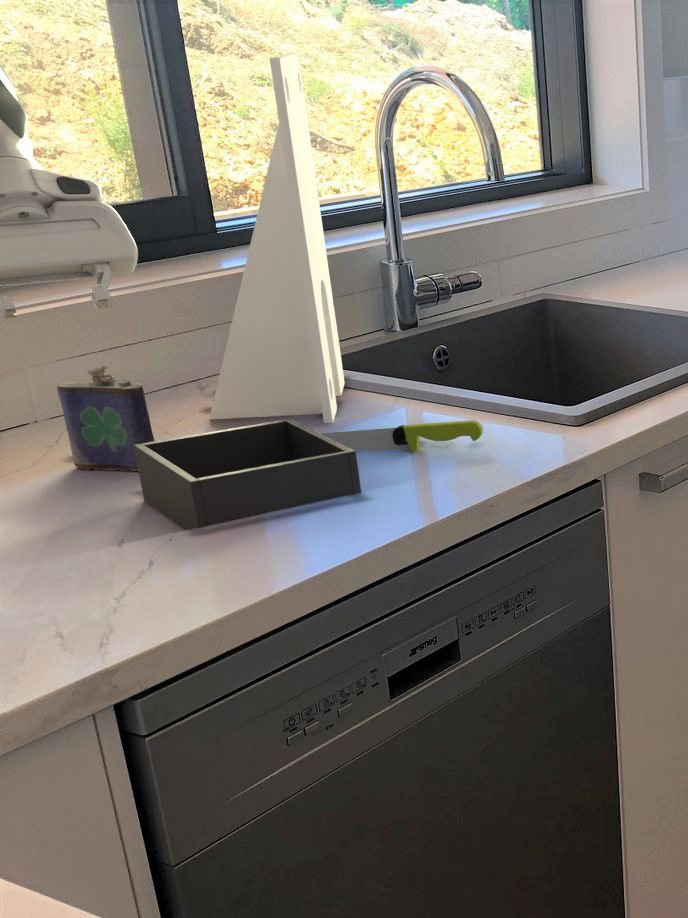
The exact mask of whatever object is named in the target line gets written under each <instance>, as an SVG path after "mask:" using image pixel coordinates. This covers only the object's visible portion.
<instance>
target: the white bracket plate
mask: <svg viewBox="0 0 688 918" xmlns="http://www.w3.org/2000/svg"><path fill="white" fill-rule="evenodd" d="M269 63H270V70H271V76H272V84H273V90H274V97H275V98H274V99H275V103H276V104H275V105H276V111H277V117H278V124H277V129H276V133H275V139H274V142H273V146H272V150H271V154H270V159H269V163H268V168H267V171H266V176H265V180H264V184H263V185H264V186H263V189H262V193H261V197H260V202H259V205H258V206H259V207H258V210H257V214H256V218H255V222H254V226H253V230H252V231H253V232H252V235H251V239H250V244H249V248H248V253H247V256H246V261H245V266H244V269H243V274H242V278H241V283H240V287H239V291H238V295H237V299H236V304H235V308H234V313H233V317H232V321H231V324H230V328H229V333H228V338H227V342H226V346H225V351H224V354H223V359H222V364H221V367H220V372H219V375H218V381H217V384H216V389H215V393H214V398H213V402H212V405H211V410H210V415H209V421H210V420H211V421H212V420H225V419H226V420H227V419H244V418H245V419H246V418H249V419H250V418H265V417H266V418H267V417H283V416H284V417H285V416H286V417H287V416H300V415H301V416H302V415H303V416H304V415H305V416H306V415H320V414H322V419H323V424H333V423H334V421H335V418H336V414H337V410H338V405H337V399H336V398H337V397H340V396H342V394H343V391H344V388H345V384H346V383H345V376H344V375H345V374H344V369H343V362H342V361H343V360H342V353H341V348H340V339H339V333H338V332H339V331H338V327H337V325H338V324H337V319H336V313H335V306H334V297H333V291H332V283H331V276H330V270H329V262H328V255H327V254H328V253H327V247H326V241H325V233H324V227H323V219H322V212H321V206H320V198H319V193H318V192H319V191H318V184H317V179H316V178H317V177H316V170H315V163H314V157H313V156H314V155H313V147H312V141H311V135H310V128H309V127H310V126H309V121H308V113H307V106H306V100H305V91H304V85H303V77H302V71H301V65H300V64H301V63H300V58H299V53H297V52H296V53H295V52H294V53H293V52H292V53H291V52H290V53H284V54H280V55H275V56H272V57H271V56H270V57H269Z"/></svg>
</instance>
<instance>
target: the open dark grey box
mask: <svg viewBox="0 0 688 918" xmlns="http://www.w3.org/2000/svg"><path fill="white" fill-rule="evenodd" d="M320 433H321V432H318V431H316V430H315V429H312V428H310V427H308V426H306V425H304V424H302V423H301V422H298V421H296V420H294V419H292V418H286V419H279V420H275V421H274V420H273V421H268V422H261V423H256V424H250V425H249V424H248V425H244V426H238V427H232V428H225V429H220V430H213V431H209V432H201V433H196V434H190V435H184V436H178V437H177V436H176V437H172V438H167V439H160V440H155V441H153V442H147V443H142V444H136V445H133V447H134V452H135V457H136V462H137V467H138V471H137V472H138V478H139V482H140V486H141V492H142V497H143V501H144V502H145V503H146V504H147V505H149V506H150V507H152V508H154V510H155V511H157V512H159V513H160V514H161V515H163V516H164V517H166V518H167V519H168V520H170V521H171V522H172V523H173V524H174V523H175V525H177V526H178V527H179V528H181V529H182V530H184V531H189V530H193V529H199V528H204V527H210V526H215V525H219V524H224V523H229V522H232V521H236V520H241V519H242V520H243V519H246V518H252V517H255V516H260V515H265V514H269V513H275V512H278V511H282V510H287V509H292V508H296V507H301V506H305V505H311V504H314V503H319V502H324V501H329V500H334V499H337V498H343V497H347V496H351V495H356V494H360V493H362V488H361V479H360V471H359V463H358V456H357V450H352V449H350V448H348V447H346V446H344V445H342V444H340V443H338V442H336V441H334V440H332V439H330V438H328V437H326V436H324V435H322V434H320Z"/></svg>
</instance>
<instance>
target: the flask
mask: <svg viewBox="0 0 688 918" xmlns="http://www.w3.org/2000/svg"><path fill="white" fill-rule="evenodd" d="M106 369H108V366H107V365H103V366H102V365H101V366H100V367H98V366H97V367H95V368H94V369H91V370H90V369H89V370H87V373H88V375H90V376H92V377H91V381H72V382H71V381H70V382H62V383H60V384H58V385H57V387H56V390H57V395H58V398H59V401H60V404H61V409H62V413H63V417H64V421H65V428H66V432H67V436H68V440H69V445H70V450H71V455H72V461H73V464H74V466H75V468H78V469H80V470H88V471H90V470H99V471H100V470H101V471H117V470H119V471H122V472H124V471H131V472H135V471H137V472H138V467H137V462H136V457H135V452H134V447H133V445H136V444H142V443H147V442H153V441H156V440H155V437H154V433H153V429H152V425H151V419H150V414H149V410H148V406H147V400H146V395H145V390H144V387H143V385H141V384H140V383H138V382H134V383H133V382H131V381H130V380H128V379H122V381H119V382H118V379H115V377H114V376H112V375H110V374H105V372H106Z"/></svg>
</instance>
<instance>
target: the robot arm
mask: <svg viewBox="0 0 688 918" xmlns="http://www.w3.org/2000/svg"><path fill="white" fill-rule="evenodd" d="M28 122H29V116H28V114H27V113H26V111H25V109H24V107H23V104H22V103H21V100H20V97H19V95H18V93H17V91H16V87H15V85H14V83H13V81H12V79H11V78H10V76H9V74H8V72H7V70H6V69H5V66H4V65H3V64H2V63H1V62H0V288H2V287H3V288H4V287H13V286H23V285H35V284H44V283H45V284H46V283H55V282H56V283H57V282H67V281H68V282H69V281H77V280H89V279H93V280H94V282H95V284H96V285H99V286H93V287H91V294H90V299H91V301H92V303H93V304H94V308H95V309H96V310H98V309H106V308H107V309H108V308H112V304H113V299H112V295H111V294H110V291H109V286H110V282H111V278H112V277H122V276H130V275H132V274H133V273H134V271H135V269H136V267H137V264H138V260H139V249H138V246H137V244H136V242H135V239H134V238H133V236H132V234H131V232H130V231H129V229H128V227H127V225H126V224H125V222H124V221H123V219H122V217H121V216H120V215H119V213H118V212H117V211H116V210H115V208H113V206H111V205H109V204H108V203H105V202H103V193H102V189H101V187H100V185H99V183H97V182H95V181H93V180H90V179H86V178H79V177H74V176H68V175H64V174H59V173H56V172H52V171H49V170H46V169H43V167H41V165H40V163H38V162H37V160H35V158H34V154H33V153H34V151H33V145H32V142H31V140H30V138H29V136H28V134H27V128H28ZM16 313H17V308H16V305H15V303H14V302H13V298H12V296H11V294H9V295H2V294H0V320H2V319H3V320H4V319H11V318H16V317H17V315H16Z"/></svg>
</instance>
